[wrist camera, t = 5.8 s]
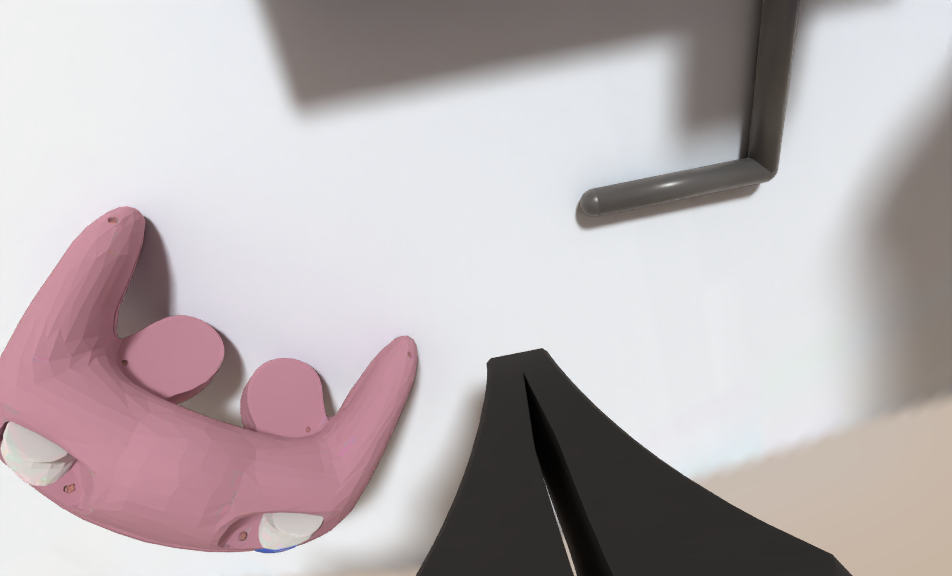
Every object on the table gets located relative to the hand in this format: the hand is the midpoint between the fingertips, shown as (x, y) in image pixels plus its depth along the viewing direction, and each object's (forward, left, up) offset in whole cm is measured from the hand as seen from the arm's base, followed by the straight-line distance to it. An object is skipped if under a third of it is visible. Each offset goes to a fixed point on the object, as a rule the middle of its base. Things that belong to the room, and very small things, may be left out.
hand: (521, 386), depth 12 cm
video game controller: (+8, 0, -5) cm, 9 cm away
